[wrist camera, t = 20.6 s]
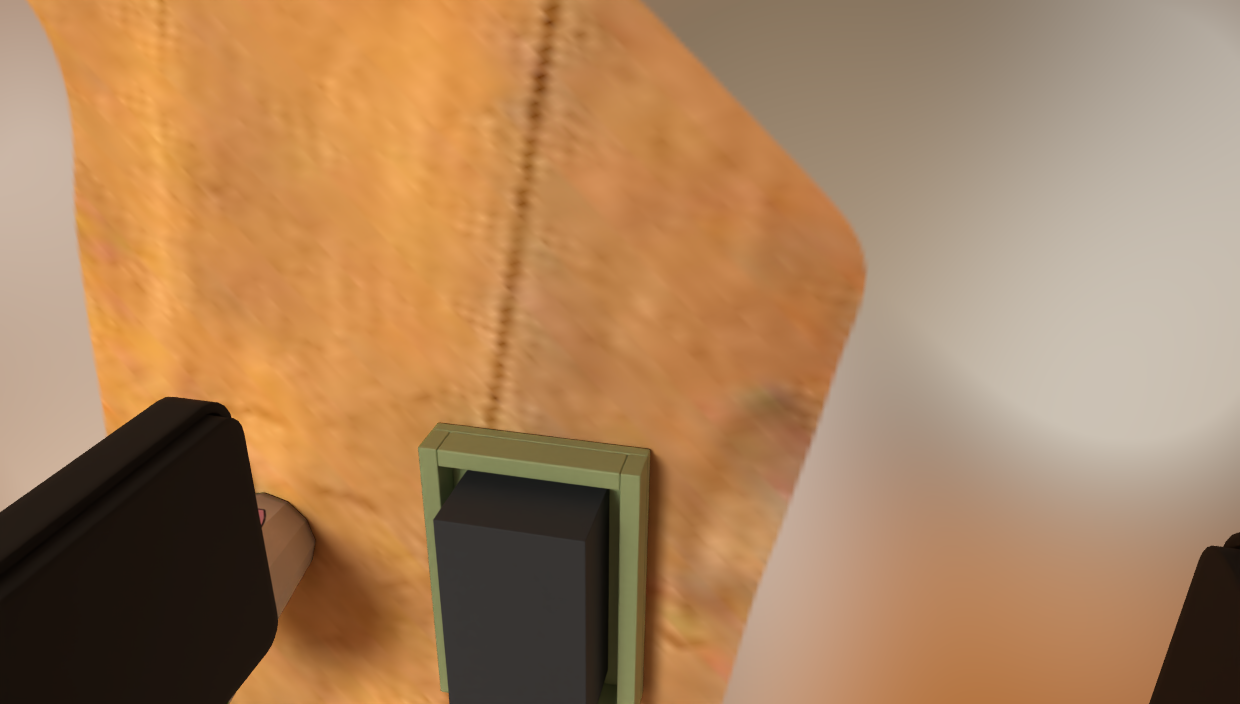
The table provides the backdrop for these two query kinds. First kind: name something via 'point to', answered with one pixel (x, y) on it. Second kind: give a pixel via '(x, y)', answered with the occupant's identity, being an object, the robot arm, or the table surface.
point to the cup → (284, 546)
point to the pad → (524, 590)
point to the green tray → (566, 463)
